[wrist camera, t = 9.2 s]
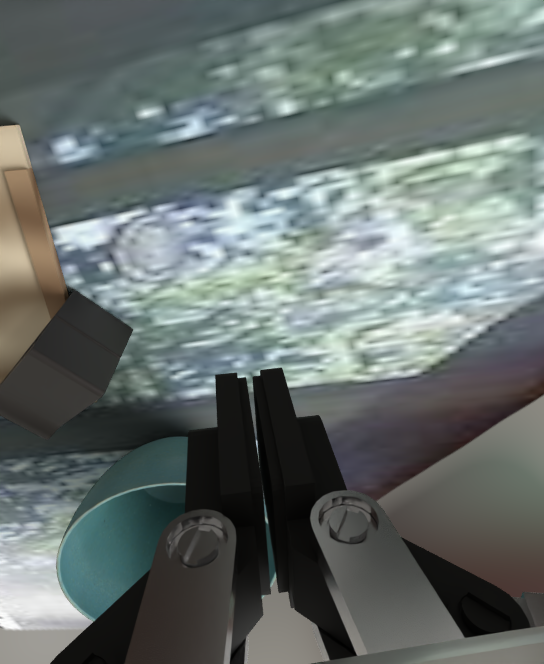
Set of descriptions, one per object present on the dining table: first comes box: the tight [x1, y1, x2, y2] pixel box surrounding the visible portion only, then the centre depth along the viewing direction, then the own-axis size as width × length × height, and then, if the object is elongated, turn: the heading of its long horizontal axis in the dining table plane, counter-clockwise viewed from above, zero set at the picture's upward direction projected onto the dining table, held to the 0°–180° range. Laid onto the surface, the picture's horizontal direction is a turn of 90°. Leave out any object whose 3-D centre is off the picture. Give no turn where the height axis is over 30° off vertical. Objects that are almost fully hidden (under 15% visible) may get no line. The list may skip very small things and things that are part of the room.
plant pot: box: [56, 436, 276, 622], centre depth 45 cm, size 18×18×12 cm
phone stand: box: [0, 290, 133, 440], centre depth 40 cm, size 9×6×12 cm
